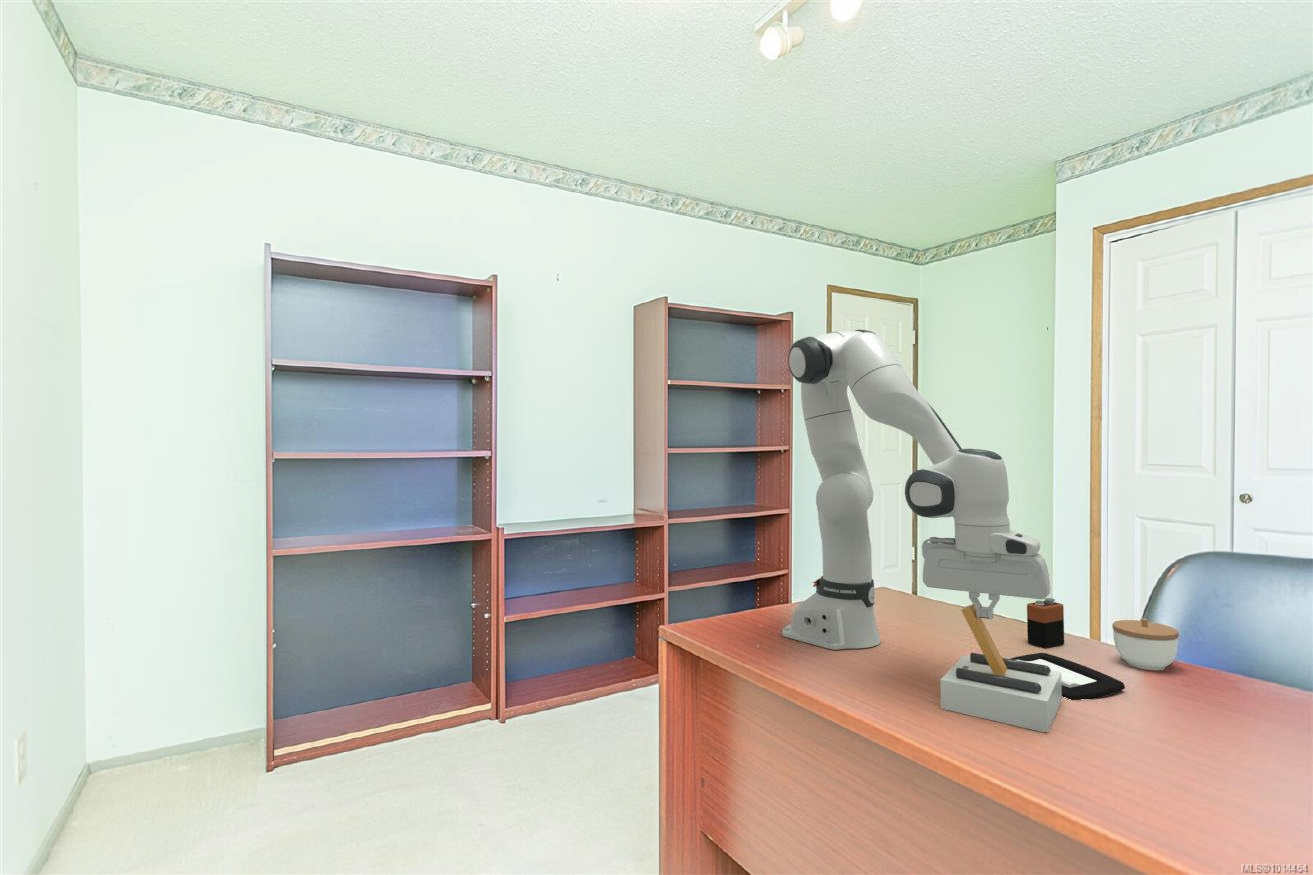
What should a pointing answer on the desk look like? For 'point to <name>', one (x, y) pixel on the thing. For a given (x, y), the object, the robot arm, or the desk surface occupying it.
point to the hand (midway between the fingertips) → (984, 617)
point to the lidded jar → (1145, 643)
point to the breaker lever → (984, 641)
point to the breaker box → (1003, 692)
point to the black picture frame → (1076, 677)
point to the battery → (1045, 623)
